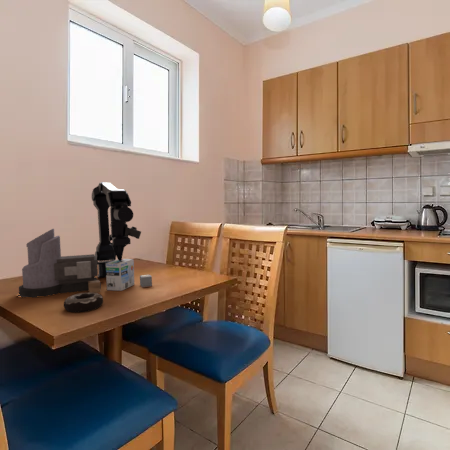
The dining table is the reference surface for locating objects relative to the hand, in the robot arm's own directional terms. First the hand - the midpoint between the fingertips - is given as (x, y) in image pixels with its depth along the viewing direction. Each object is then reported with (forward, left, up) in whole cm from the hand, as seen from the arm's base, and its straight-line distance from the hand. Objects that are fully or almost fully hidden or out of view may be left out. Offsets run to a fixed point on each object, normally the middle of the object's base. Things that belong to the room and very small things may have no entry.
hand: (120, 260), depth 128 cm
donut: (+21, -14, -11) cm, 28 cm away
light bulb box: (0, 0, -11) cm, 11 cm away
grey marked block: (+2, +10, -11) cm, 15 cm away
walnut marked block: (+2, -10, -11) cm, 15 cm away
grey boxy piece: (-8, -22, -11) cm, 26 cm away
